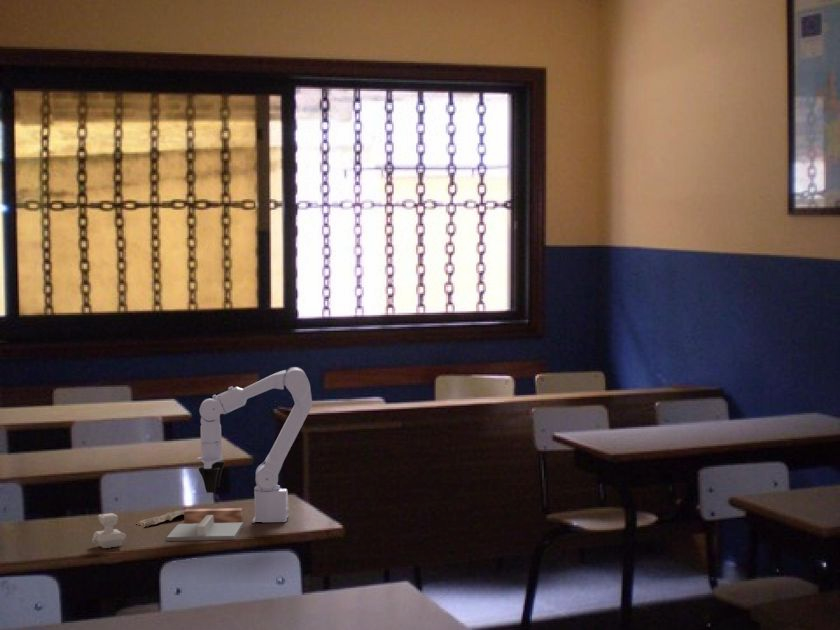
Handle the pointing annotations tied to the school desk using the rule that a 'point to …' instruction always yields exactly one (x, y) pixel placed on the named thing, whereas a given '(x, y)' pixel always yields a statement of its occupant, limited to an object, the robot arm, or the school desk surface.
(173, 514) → the stone fragment
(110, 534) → the stamp
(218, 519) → the stick
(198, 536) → the board
